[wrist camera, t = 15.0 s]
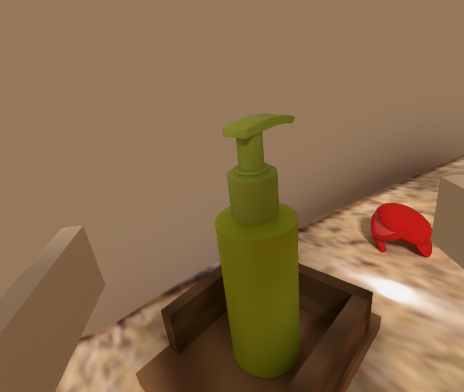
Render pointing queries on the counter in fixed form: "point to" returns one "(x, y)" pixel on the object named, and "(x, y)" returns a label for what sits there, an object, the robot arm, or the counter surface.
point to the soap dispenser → (259, 257)
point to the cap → (401, 227)
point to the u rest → (221, 349)
